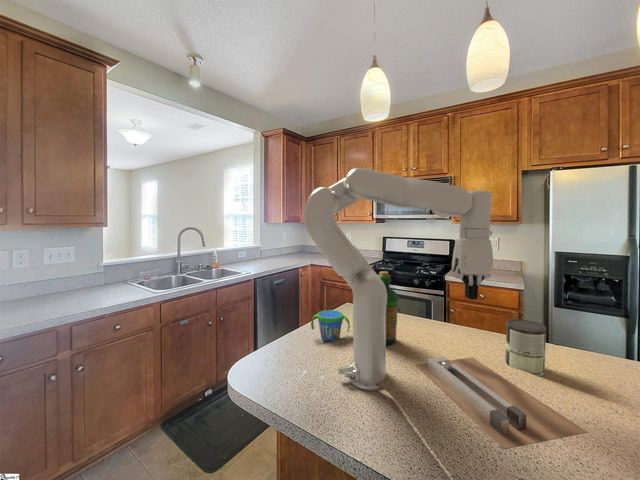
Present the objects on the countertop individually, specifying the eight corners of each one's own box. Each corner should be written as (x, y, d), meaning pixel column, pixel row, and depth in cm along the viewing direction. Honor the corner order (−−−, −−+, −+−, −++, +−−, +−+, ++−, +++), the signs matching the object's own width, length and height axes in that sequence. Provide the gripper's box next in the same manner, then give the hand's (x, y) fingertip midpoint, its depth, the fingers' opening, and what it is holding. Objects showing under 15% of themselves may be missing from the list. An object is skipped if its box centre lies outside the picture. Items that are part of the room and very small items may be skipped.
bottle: (400, 351, 102) (400, 275, 100) (370, 349, 103) (369, 274, 102) (396, 339, 112) (396, 269, 110) (369, 338, 114) (369, 269, 112)
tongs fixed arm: (427, 368, 87) (427, 358, 87) (444, 366, 88) (444, 356, 88) (500, 434, 60) (501, 420, 60) (524, 429, 61) (524, 415, 61)
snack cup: (352, 335, 117) (351, 311, 116) (346, 346, 107) (346, 320, 106) (316, 331, 122) (316, 308, 121) (307, 341, 112) (307, 316, 111)
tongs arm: (439, 371, 85) (439, 361, 84) (450, 370, 85) (450, 359, 85) (511, 431, 60) (511, 417, 60) (525, 428, 61) (526, 414, 61)
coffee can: (497, 360, 94) (498, 319, 93) (527, 359, 95) (529, 318, 94) (520, 377, 84) (522, 331, 83) (554, 376, 84) (555, 330, 83)
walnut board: (503, 456, 56) (504, 448, 56) (414, 369, 90) (414, 364, 89) (587, 438, 60) (587, 432, 60) (472, 361, 94) (472, 357, 94)
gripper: (488, 234, 85) (484, 294, 86) (442, 234, 83) (439, 295, 84) (508, 235, 77) (504, 301, 79) (458, 235, 75) (455, 302, 76)
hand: (471, 298), depth 81 cm, fingers closed
